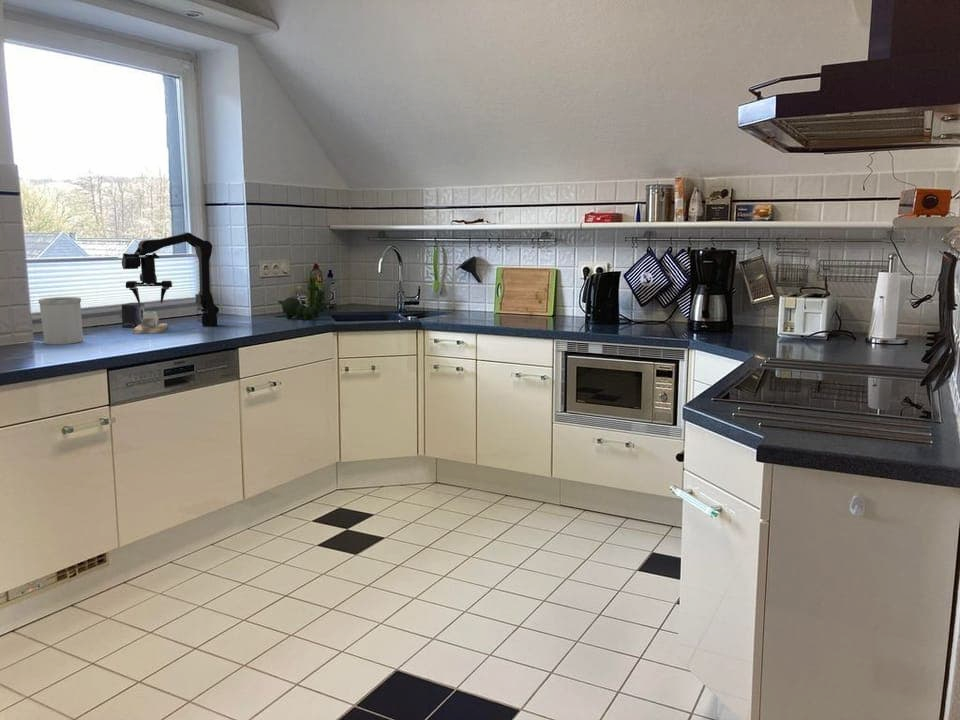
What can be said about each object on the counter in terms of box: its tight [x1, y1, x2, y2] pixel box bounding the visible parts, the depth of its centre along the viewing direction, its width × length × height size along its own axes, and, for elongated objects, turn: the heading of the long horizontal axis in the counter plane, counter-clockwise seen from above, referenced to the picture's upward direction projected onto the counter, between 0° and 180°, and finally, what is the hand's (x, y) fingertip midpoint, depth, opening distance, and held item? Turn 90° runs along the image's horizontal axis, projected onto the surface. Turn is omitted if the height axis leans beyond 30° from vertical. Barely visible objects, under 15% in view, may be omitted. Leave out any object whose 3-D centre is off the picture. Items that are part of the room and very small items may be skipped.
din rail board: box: [132, 314, 168, 335], centre depth 345 cm, size 12×22×6 cm, turn 17°
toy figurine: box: [277, 284, 326, 321], centre depth 390 cm, size 9×19×25 cm
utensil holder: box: [38, 296, 84, 345], centre depth 306 cm, size 15×15×18 cm
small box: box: [121, 302, 145, 328], centre depth 358 cm, size 11×6×10 cm, turn 179°
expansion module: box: [143, 310, 158, 326], centre depth 344 cm, size 5×6×6 cm
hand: (150, 303), depth 344 cm, fingers open, 9 cm apart
